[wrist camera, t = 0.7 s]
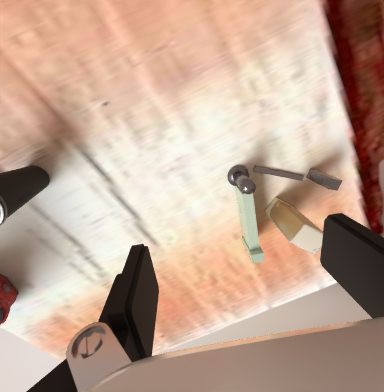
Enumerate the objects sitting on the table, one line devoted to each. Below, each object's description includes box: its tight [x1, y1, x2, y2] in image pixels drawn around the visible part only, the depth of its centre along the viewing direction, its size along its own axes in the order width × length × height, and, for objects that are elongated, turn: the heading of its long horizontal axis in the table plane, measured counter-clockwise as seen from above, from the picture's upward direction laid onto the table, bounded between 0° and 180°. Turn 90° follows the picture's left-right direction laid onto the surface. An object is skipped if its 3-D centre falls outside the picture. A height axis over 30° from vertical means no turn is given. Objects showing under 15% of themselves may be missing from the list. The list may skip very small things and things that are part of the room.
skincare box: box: [265, 198, 323, 255], centre depth 42 cm, size 6×4×12 cm
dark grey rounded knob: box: [228, 166, 256, 194], centre depth 40 cm, size 4×4×8 cm
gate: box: [236, 185, 264, 263], centre depth 44 cm, size 16×2×7 cm, turn 13°
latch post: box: [254, 166, 342, 190], centre depth 41 cm, size 3×14×7 cm, turn 78°
